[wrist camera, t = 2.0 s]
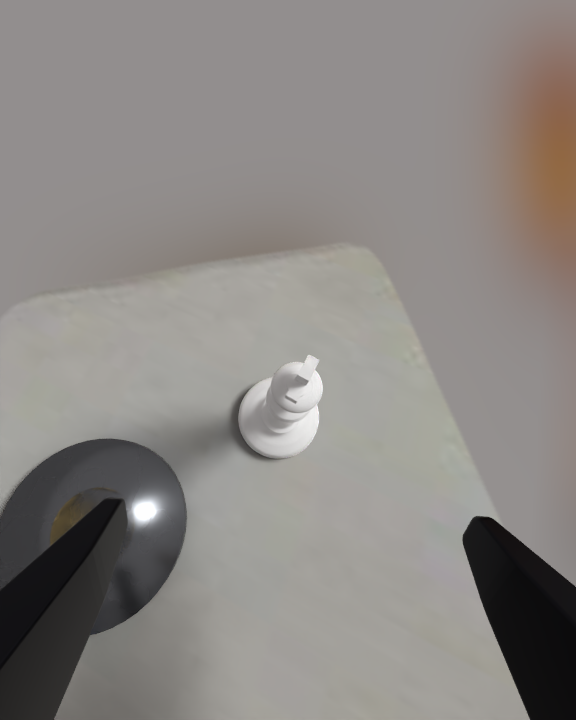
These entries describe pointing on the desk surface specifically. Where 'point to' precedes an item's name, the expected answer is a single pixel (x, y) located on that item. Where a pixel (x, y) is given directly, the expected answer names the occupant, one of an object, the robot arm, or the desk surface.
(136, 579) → the carrier plate
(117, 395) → the desk surface
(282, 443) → the chess piece
